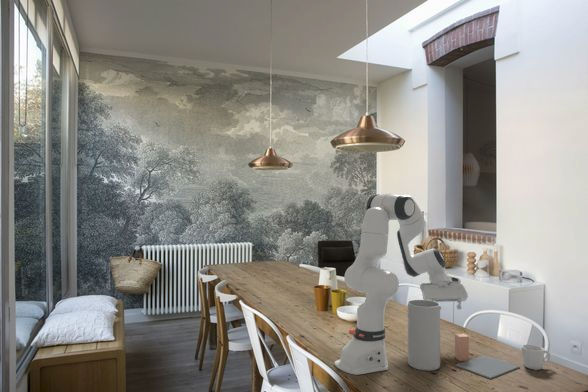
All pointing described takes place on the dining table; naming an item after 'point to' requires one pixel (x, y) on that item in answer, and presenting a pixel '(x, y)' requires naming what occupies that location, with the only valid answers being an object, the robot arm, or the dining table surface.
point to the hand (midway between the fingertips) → (449, 309)
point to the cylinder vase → (424, 334)
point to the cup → (534, 356)
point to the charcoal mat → (487, 366)
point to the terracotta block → (462, 347)
